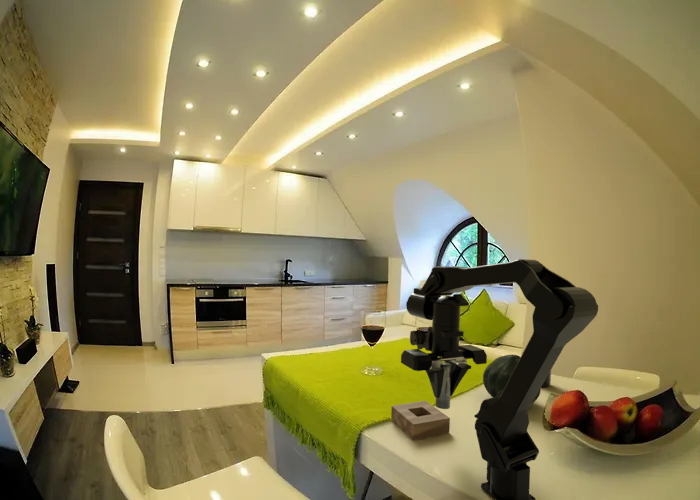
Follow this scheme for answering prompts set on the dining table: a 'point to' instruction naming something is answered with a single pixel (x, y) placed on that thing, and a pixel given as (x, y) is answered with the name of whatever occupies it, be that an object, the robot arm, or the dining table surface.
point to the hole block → (420, 420)
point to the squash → (500, 374)
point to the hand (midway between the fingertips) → (443, 396)
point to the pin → (445, 387)
